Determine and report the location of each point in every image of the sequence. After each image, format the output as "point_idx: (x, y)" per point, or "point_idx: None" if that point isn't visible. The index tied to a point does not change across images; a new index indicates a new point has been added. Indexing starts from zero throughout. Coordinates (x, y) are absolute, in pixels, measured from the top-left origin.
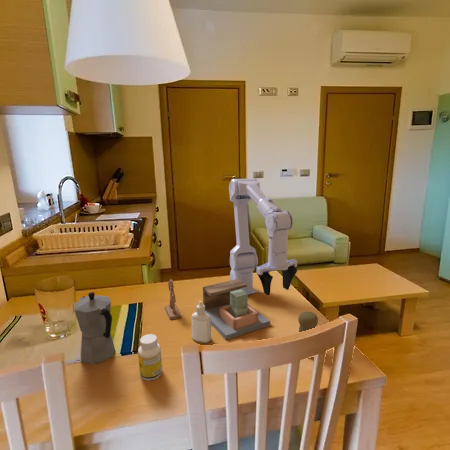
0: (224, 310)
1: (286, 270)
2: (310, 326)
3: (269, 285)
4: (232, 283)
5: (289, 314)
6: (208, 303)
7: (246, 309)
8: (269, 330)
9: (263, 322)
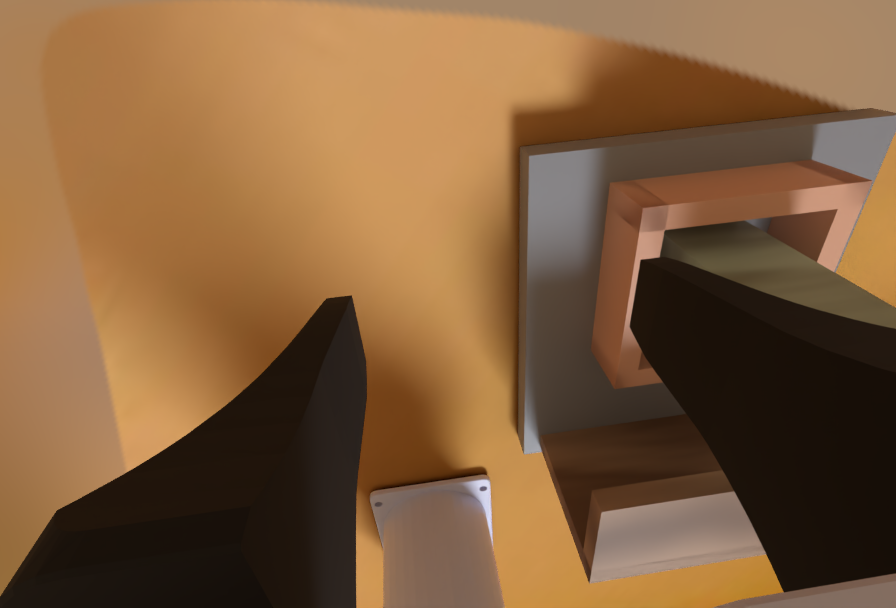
0: None
1: (323, 602)
2: None
3: (777, 312)
4: (682, 539)
5: (302, 218)
6: None
7: (717, 266)
8: (567, 84)
9: (586, 156)
